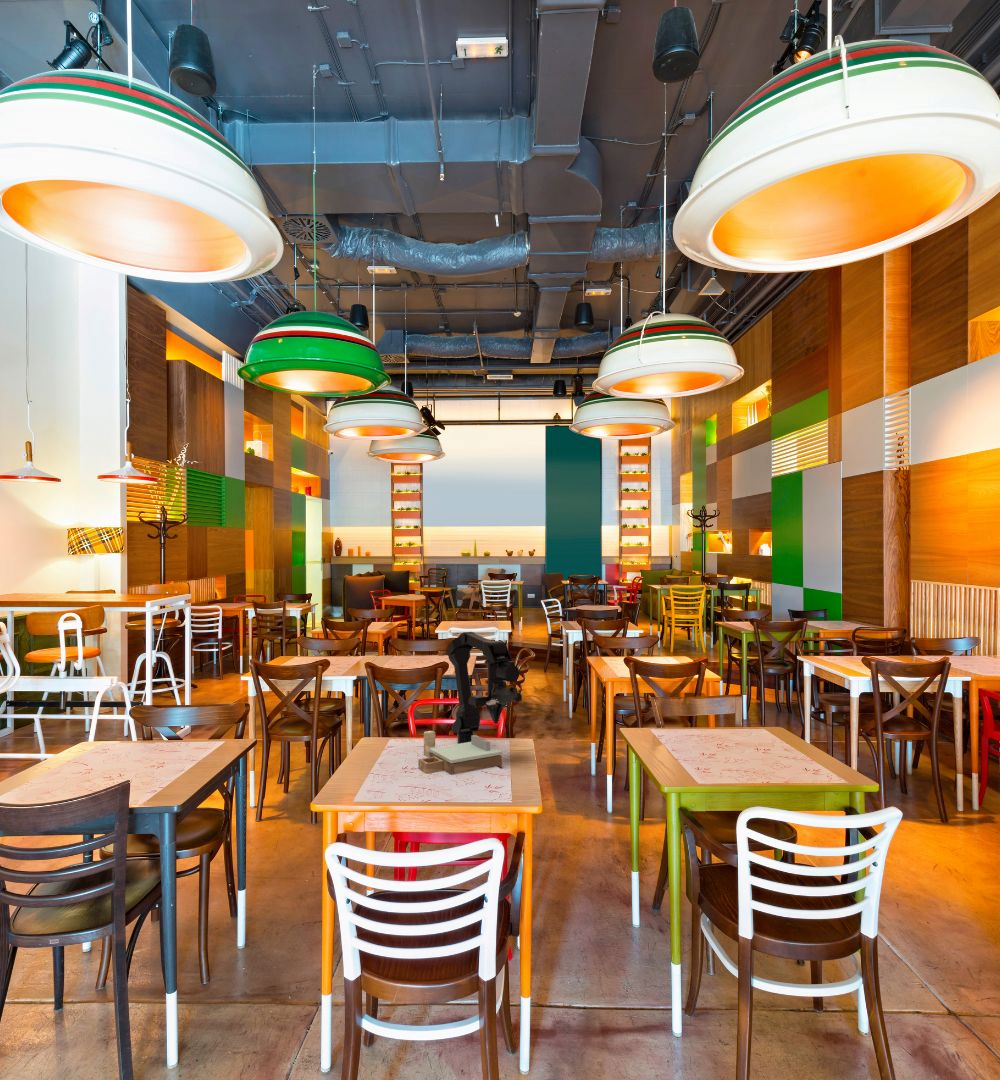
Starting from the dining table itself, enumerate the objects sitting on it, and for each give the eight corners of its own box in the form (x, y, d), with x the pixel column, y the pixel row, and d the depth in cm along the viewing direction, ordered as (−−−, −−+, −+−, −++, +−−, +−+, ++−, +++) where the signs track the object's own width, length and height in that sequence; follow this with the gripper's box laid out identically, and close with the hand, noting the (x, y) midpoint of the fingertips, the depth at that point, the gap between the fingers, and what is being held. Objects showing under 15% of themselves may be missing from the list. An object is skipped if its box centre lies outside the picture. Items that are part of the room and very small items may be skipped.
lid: (429, 751, 223) (429, 739, 223) (477, 743, 233) (477, 732, 233) (450, 763, 209) (451, 750, 210) (501, 754, 219) (501, 742, 220)
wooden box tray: (412, 767, 220) (412, 755, 220) (477, 756, 233) (477, 744, 233) (433, 781, 206) (433, 767, 206) (501, 768, 219) (501, 755, 219)
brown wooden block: (423, 757, 231) (423, 731, 232) (431, 756, 233) (431, 730, 233) (427, 759, 229) (427, 733, 229) (435, 758, 230) (435, 732, 231)
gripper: (484, 684, 217) (484, 732, 216) (531, 679, 227) (531, 724, 226) (467, 679, 226) (467, 725, 226) (513, 674, 236) (513, 718, 235)
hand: (495, 723), depth 228 cm, fingers closed
